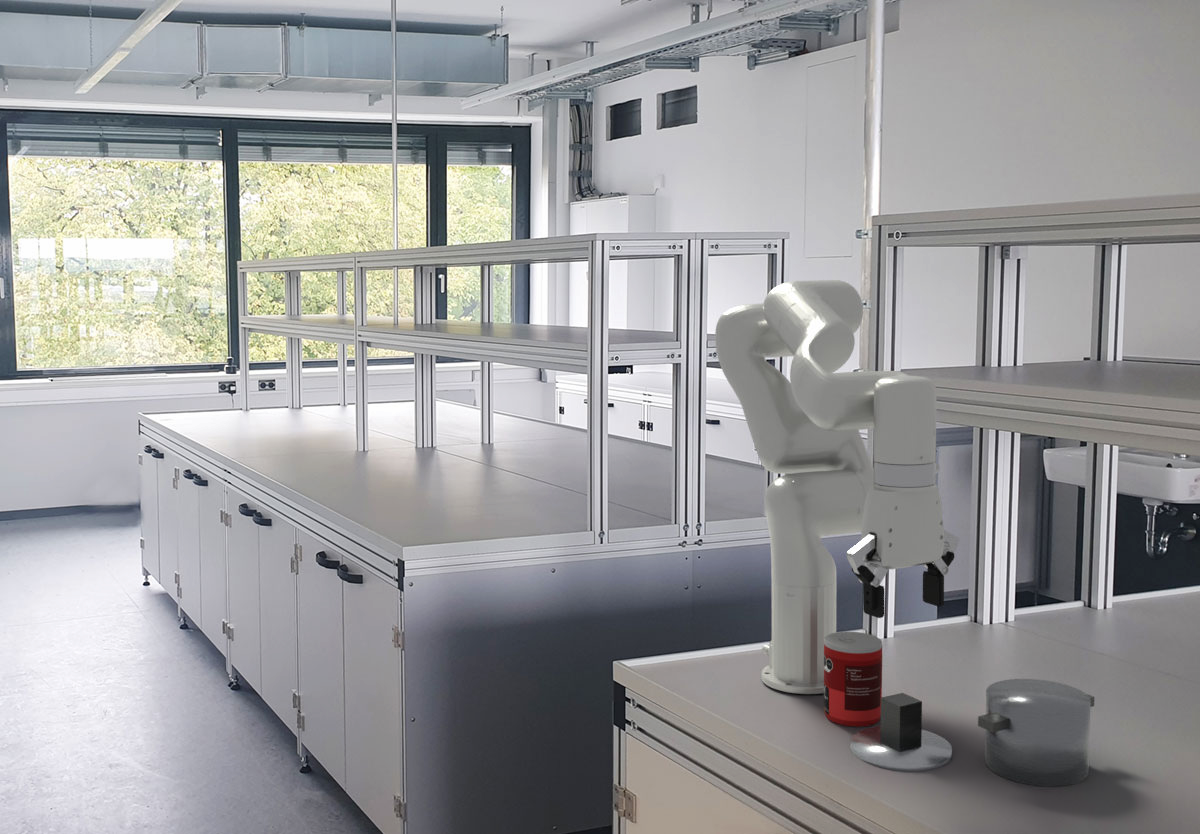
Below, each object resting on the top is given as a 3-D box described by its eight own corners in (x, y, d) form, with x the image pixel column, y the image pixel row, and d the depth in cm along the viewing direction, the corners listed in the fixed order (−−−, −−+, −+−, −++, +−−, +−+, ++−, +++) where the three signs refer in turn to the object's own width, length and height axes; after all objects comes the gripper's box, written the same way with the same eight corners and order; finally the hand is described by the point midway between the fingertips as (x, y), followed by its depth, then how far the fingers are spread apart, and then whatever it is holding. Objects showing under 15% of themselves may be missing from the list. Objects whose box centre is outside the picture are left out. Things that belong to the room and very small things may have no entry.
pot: (948, 762, 148) (949, 693, 147) (1047, 735, 156) (1049, 669, 155) (1022, 799, 137) (1024, 724, 136) (1125, 768, 145) (1127, 697, 144)
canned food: (839, 702, 169) (840, 627, 168) (891, 715, 164) (892, 638, 163) (813, 718, 163) (813, 641, 162) (866, 732, 158) (866, 652, 157)
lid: (830, 744, 155) (830, 693, 154) (904, 726, 161) (905, 676, 160) (896, 780, 144) (896, 725, 143) (973, 759, 149) (974, 706, 149)
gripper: (935, 465, 155) (934, 593, 157) (829, 478, 147) (830, 612, 149) (978, 473, 148) (976, 606, 150) (869, 486, 140) (869, 627, 142)
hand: (903, 609), depth 150 cm, fingers open, 9 cm apart
